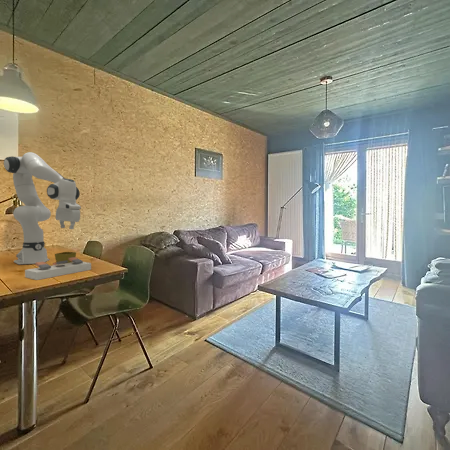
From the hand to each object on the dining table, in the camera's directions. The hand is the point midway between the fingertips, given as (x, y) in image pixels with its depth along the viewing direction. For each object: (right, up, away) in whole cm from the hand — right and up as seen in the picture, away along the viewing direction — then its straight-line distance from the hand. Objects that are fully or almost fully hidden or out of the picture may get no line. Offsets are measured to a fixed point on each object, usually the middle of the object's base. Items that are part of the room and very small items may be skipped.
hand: (67, 228), depth 159 cm
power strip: (+1, -26, -6) cm, 26 cm away
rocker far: (+5, -19, 0) cm, 20 cm away
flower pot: (-7, -25, +11) cm, 28 cm away
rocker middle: (+1, -20, -8) cm, 21 cm away
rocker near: (-4, -20, -15) cm, 25 cm away
